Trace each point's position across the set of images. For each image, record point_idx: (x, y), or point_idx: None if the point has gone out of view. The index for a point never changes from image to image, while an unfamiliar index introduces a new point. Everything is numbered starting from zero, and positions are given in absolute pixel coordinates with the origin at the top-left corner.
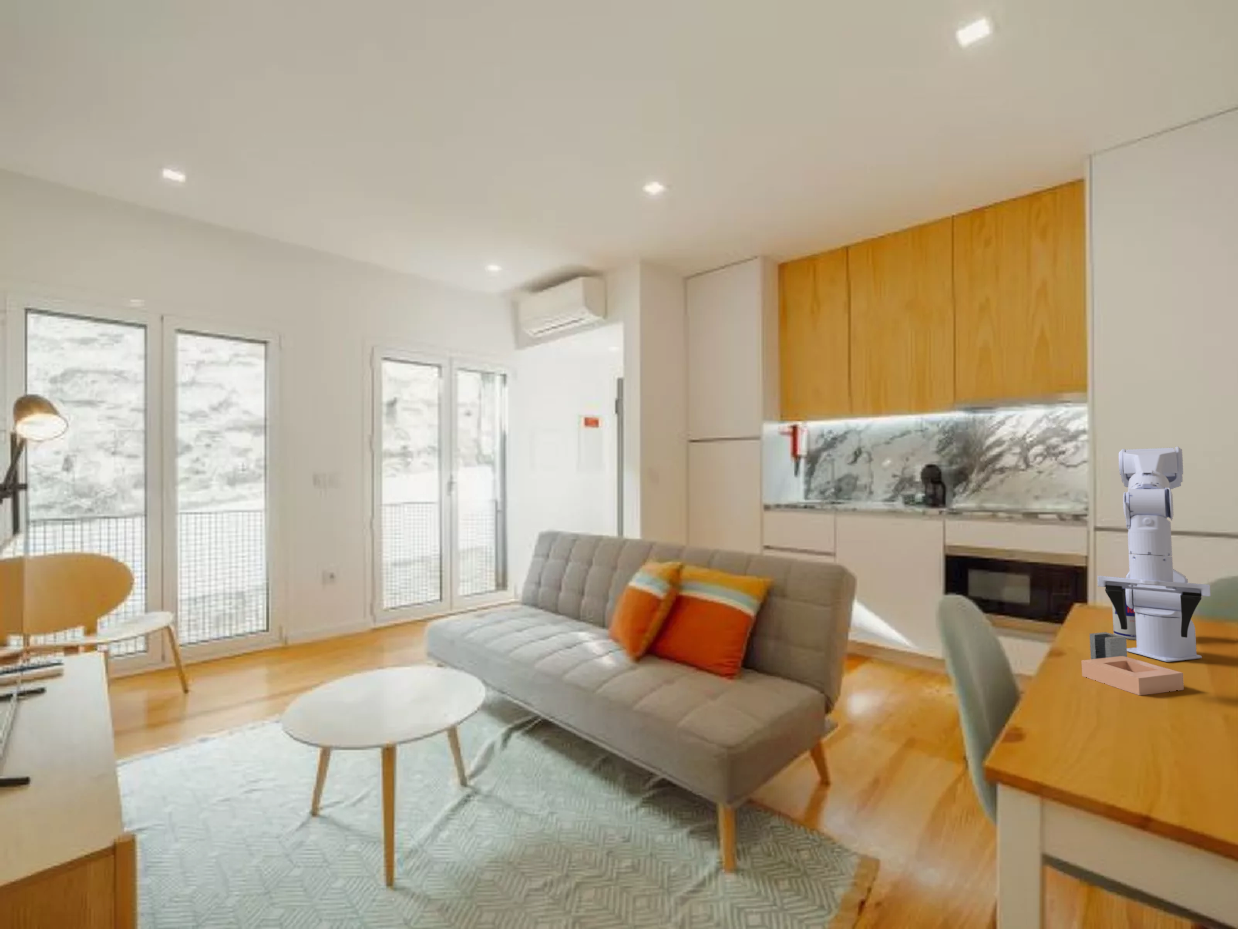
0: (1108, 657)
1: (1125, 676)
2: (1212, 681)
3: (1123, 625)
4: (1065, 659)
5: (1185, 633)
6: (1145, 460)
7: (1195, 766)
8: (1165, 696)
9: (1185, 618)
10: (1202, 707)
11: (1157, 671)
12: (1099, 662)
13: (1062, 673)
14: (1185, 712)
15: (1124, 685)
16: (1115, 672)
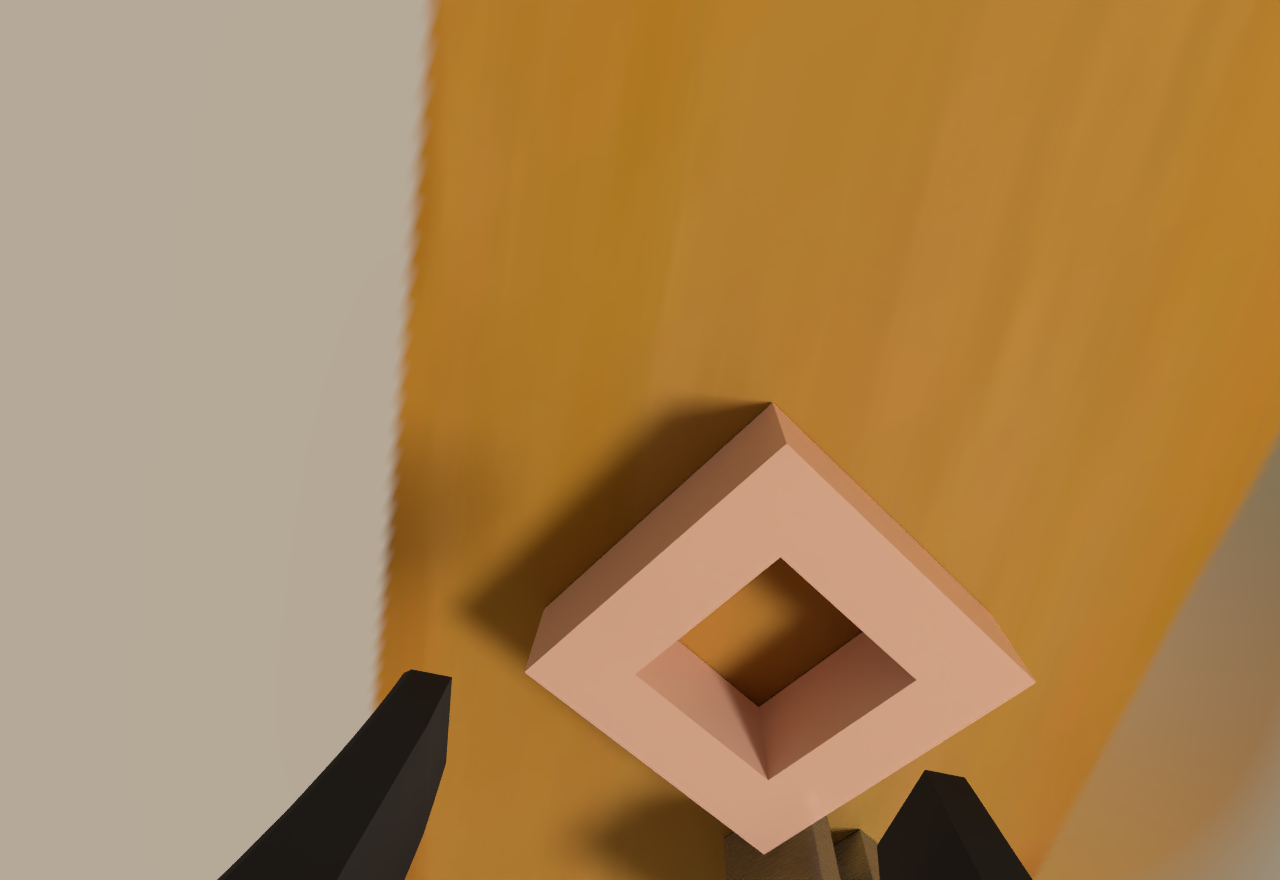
0: (825, 847)
1: (842, 490)
2: None
3: (969, 813)
4: None
5: (396, 699)
6: None
7: None
8: (644, 457)
9: (286, 876)
10: (502, 353)
11: (647, 640)
12: (933, 684)
13: (1089, 619)
14: (596, 202)
15: (835, 468)
16: (886, 536)
